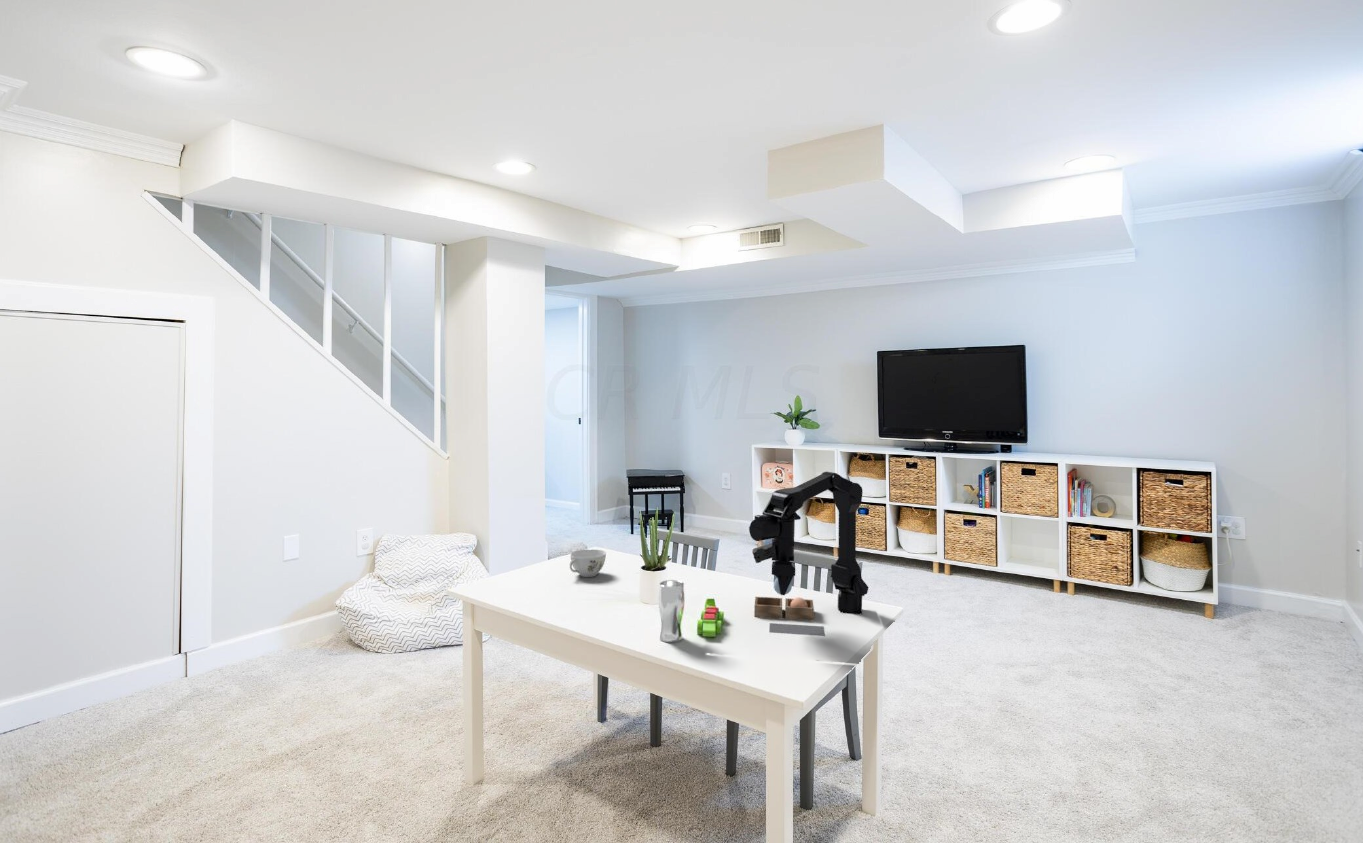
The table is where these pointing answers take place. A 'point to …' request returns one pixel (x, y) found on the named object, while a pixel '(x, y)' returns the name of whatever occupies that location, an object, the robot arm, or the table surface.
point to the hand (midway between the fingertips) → (782, 592)
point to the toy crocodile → (710, 619)
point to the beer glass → (671, 610)
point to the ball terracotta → (799, 602)
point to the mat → (797, 629)
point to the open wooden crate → (768, 607)
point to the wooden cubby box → (799, 610)
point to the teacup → (587, 562)
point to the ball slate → (777, 589)
